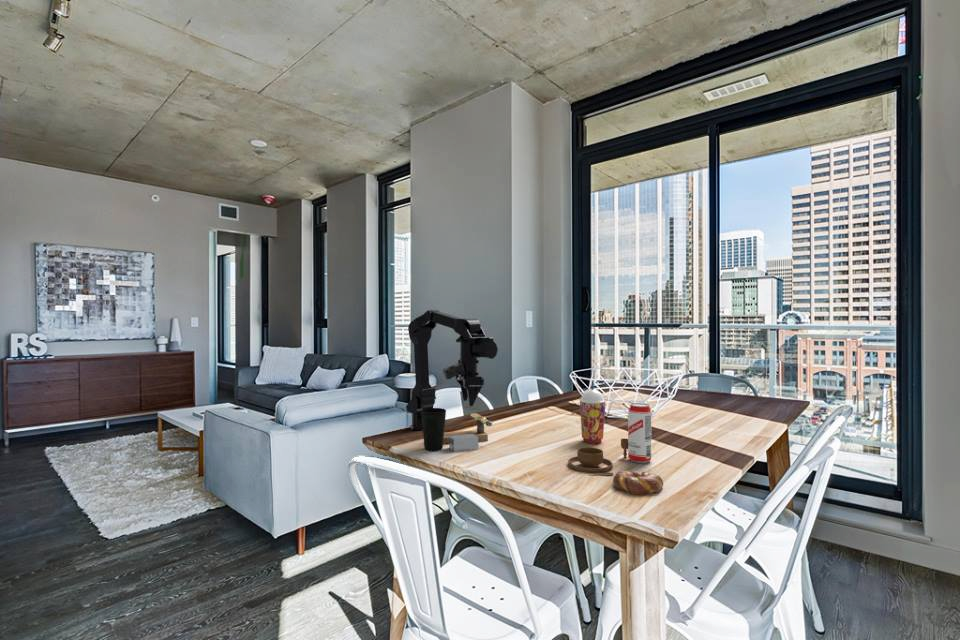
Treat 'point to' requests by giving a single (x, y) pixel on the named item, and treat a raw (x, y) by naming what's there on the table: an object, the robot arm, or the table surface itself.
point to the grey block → (463, 442)
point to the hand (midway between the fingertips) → (467, 403)
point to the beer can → (639, 433)
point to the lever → (482, 419)
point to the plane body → (479, 433)
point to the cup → (433, 428)
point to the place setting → (594, 459)
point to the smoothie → (592, 415)
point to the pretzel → (637, 482)
